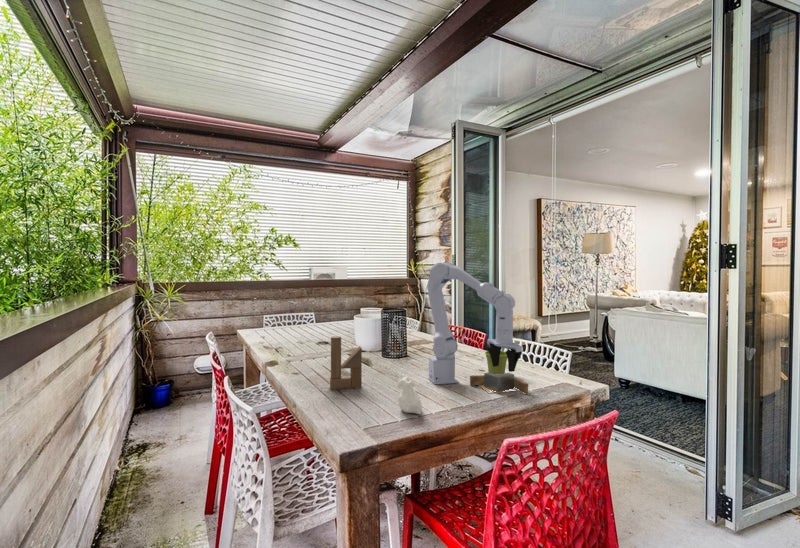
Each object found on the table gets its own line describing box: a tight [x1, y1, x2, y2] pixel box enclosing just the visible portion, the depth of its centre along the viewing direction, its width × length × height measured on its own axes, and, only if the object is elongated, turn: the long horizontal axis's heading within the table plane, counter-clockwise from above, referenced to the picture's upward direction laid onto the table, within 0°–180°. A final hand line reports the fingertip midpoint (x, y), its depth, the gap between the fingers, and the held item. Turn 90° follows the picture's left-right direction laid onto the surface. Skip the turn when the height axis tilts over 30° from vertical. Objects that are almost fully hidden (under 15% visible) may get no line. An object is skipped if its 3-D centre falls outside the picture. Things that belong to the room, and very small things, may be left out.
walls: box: [469, 374, 529, 394], centre depth 143 cm, size 15×14×3 cm
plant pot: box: [484, 350, 508, 374], centre depth 162 cm, size 9×9×9 cm
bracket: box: [483, 371, 515, 393], centre depth 143 cm, size 8×6×5 cm
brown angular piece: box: [329, 335, 363, 390], centre depth 144 cm, size 4×11×18 cm, turn 103°
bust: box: [396, 375, 423, 415], centre depth 121 cm, size 12×8×11 cm
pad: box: [478, 385, 504, 393], centre depth 143 cm, size 10×8×1 cm
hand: (503, 368), depth 141 cm, fingers open, 7 cm apart
